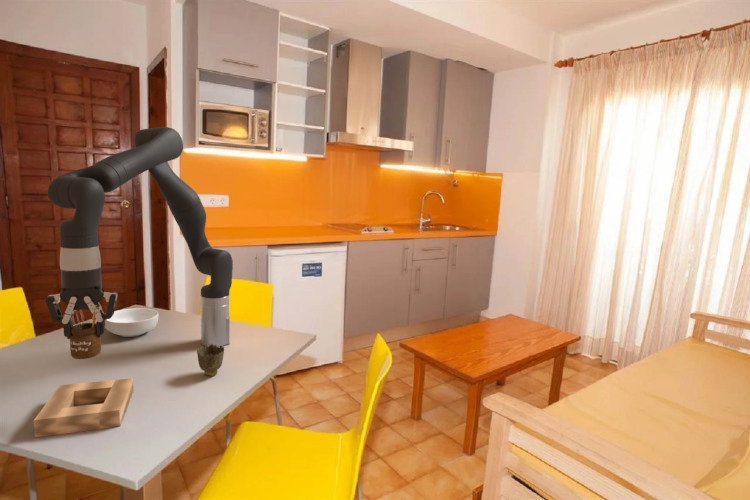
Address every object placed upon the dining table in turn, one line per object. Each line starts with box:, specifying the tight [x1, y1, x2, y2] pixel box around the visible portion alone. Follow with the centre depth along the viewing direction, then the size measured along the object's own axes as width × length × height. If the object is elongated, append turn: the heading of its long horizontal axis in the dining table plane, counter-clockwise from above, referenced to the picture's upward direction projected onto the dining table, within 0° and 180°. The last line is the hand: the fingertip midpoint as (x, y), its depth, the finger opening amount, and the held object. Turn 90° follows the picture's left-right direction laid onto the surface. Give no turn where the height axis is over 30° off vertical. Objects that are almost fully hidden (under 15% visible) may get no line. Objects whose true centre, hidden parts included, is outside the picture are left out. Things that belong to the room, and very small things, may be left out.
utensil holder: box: [69, 306, 102, 360], centre depth 97 cm, size 6×6×12 cm
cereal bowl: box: [105, 307, 159, 338], centre depth 149 cm, size 17×17×7 cm
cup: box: [196, 344, 225, 377], centre depth 122 cm, size 8×7×8 cm
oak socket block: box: [33, 377, 134, 438], centre depth 99 cm, size 16×16×4 cm
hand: (85, 336), depth 97 cm, fingers closed on utensil holder, 5 cm apart
